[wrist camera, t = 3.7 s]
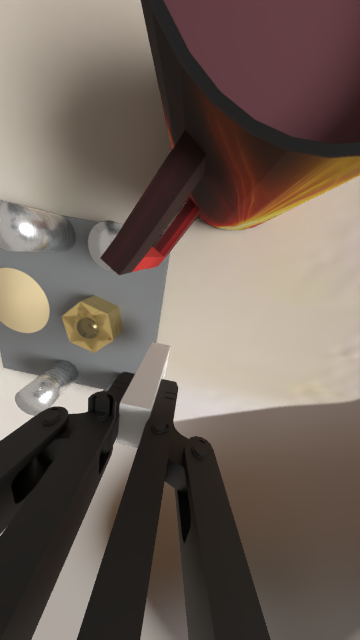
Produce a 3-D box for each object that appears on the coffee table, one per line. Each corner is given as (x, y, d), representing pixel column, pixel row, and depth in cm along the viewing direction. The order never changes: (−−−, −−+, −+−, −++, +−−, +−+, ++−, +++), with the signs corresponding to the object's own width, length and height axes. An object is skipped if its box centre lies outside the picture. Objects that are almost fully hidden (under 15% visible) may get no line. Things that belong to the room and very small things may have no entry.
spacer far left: (53, 357, 22) (12, 387, 17) (78, 363, 21) (44, 394, 17) (54, 378, 23) (17, 411, 18) (78, 383, 23) (47, 418, 18)
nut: (74, 296, 19) (56, 303, 16) (116, 293, 18) (103, 300, 16) (87, 342, 20) (72, 353, 18) (125, 341, 20) (115, 352, 18)
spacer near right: (120, 226, 16) (88, 216, 11) (154, 233, 16) (135, 225, 11) (118, 262, 17) (87, 266, 12) (150, 268, 17) (131, 275, 12)
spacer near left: (42, 211, 16) (-22, 195, 12) (75, 218, 16) (25, 204, 11) (44, 248, 17) (-13, 246, 13) (76, 254, 17) (30, 255, 13)
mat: (-30, 198, 17) (-35, 197, 16) (172, 236, 16) (171, 236, 16) (2, 364, 23) (-1, 367, 23) (148, 396, 23) (147, 398, 22)
